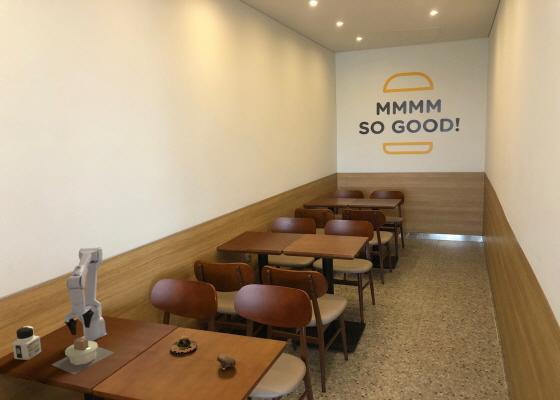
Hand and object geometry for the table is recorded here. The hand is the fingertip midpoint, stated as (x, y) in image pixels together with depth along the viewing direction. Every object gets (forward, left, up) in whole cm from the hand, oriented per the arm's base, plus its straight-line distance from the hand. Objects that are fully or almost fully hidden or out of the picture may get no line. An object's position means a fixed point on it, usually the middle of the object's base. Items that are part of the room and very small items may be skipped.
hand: (80, 331), depth 194 cm
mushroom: (-21, +66, -11) cm, 70 cm away
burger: (-24, +39, -11) cm, 47 cm away
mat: (+4, +6, -10) cm, 12 cm away
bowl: (+4, +6, -10) cm, 12 cm away
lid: (+4, +5, -6) cm, 9 cm away
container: (+14, -20, -11) cm, 27 cm away
